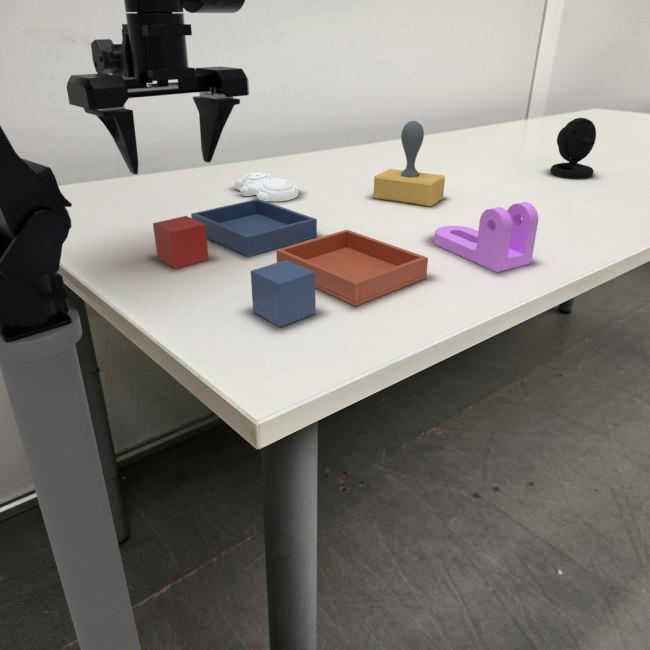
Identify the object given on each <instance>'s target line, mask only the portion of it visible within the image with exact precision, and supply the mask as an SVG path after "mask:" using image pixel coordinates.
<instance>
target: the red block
mask: <svg viewBox="0 0 650 650" xmlns="http://www.w3.org/2000/svg"><path fill="white" fill-rule="evenodd" d="M152 227H153V234H154V242H155V249H156V256H157V260H159V261H162V262H163V263H164V264H167V266H170V267H172V268H174V269H175V270H176V269H177V270H178V269H180V268H184V267H188V266H190V265H194V264H198V263H202V262H205V261H209V259H210V258H209V248H208V238H207V237H206V226H205V224H204V223H201V222H199V221H197V220H194V219H192V218H191V216H187V215H184V216H179V217H173V218H170V219H165V220H162V221H157V222H153V223H152Z"/></svg>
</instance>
